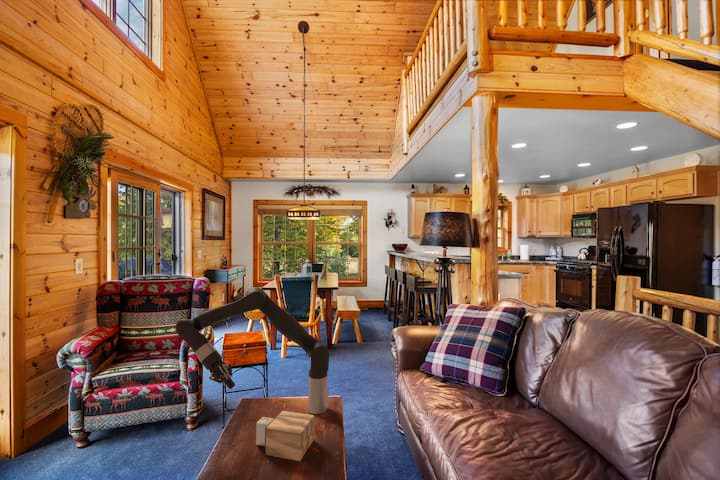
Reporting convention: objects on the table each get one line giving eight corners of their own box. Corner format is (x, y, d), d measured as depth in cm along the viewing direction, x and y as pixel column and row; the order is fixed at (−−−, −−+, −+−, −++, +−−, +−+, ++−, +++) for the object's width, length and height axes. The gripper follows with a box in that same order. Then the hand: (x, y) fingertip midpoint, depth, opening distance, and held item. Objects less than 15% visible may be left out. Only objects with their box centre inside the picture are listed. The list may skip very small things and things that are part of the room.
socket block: (281, 434, 146) (281, 410, 146) (313, 440, 142) (313, 415, 142) (264, 454, 132) (265, 428, 132) (299, 461, 128) (300, 433, 128)
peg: (262, 437, 143) (262, 416, 143) (288, 442, 140) (288, 420, 140) (255, 444, 138) (256, 422, 138) (282, 449, 135) (283, 427, 135)
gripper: (203, 355, 139) (228, 388, 136) (223, 345, 152) (247, 375, 149) (192, 366, 141) (217, 399, 138) (213, 356, 153) (236, 386, 150)
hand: (232, 387), depth 143 cm, fingers closed
